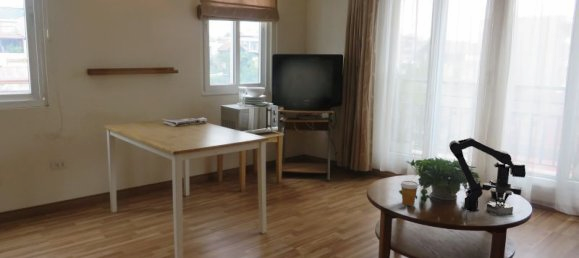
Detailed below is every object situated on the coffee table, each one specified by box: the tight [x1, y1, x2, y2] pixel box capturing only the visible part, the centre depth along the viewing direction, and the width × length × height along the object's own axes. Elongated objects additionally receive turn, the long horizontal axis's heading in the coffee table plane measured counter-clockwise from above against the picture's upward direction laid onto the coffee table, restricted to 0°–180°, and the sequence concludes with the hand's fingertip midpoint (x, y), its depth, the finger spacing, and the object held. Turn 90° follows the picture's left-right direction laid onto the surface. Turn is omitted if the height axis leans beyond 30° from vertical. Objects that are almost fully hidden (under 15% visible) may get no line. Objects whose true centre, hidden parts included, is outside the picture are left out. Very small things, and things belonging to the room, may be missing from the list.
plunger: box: [497, 197, 504, 206], centre depth 252 cm, size 3×3×7 cm
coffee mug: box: [488, 179, 505, 200], centre depth 278 cm, size 12×9×10 cm
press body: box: [485, 200, 514, 217], centre depth 253 cm, size 9×12×4 cm
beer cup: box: [400, 180, 419, 207], centre depth 262 cm, size 10×10×12 cm
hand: (500, 204), depth 252 cm, fingers closed on plunger, 3 cm apart
